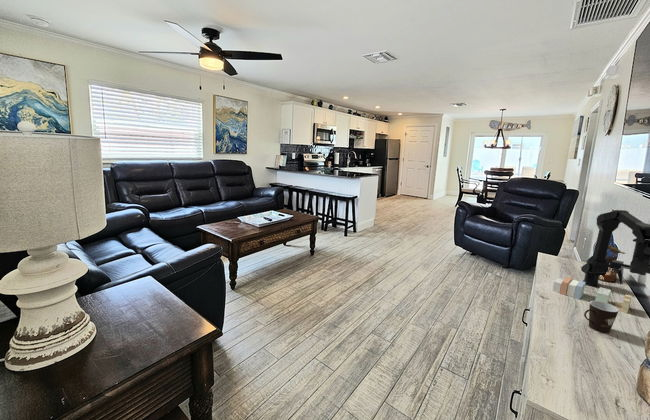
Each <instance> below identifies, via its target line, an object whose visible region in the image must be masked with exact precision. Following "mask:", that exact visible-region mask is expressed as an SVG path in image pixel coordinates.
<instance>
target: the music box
mask: <svg viewBox="0 0 650 420" xmlns="http://www.w3.org/2000/svg"><path fill="white" fill-rule="evenodd" d="M608 250H609V251H610V252H612V253H614V254H613V255H614V257H607V254H606V260H607V262H608V263H610V262H611V261H612V260H617V256H616V254H618V255H619V256H620V255H621V254H622V255H624V254H626V252H624V251H621V250H620V249H618V248H616V247H614V246H612V245H611V244H609V246H608ZM619 258H620V257H618V260H617V261H620V260H619ZM614 274H615V275H616V274H617V272H616V271H615V270H614ZM615 275H605V276H603V275H602V276H603V277H604V281H603V282H606V281H609V282H608V283H613V282H612V281H613V280H614V279H615V280H616V278H617V275H616V276H615Z"/></svg>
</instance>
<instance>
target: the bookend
mask: <svg viewBox="0 0 650 420" xmlns="http://www.w3.org/2000/svg"><path fill="white" fill-rule="evenodd" d="M632 297H633V295H631V294H625V295H624V298H623V300H622V301H623V302H618V301H615V304H614V306H615V307H617V308H618V309H619V312H620V313H623V314H628V312H629V309H630V305H631V302H632Z"/></svg>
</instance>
